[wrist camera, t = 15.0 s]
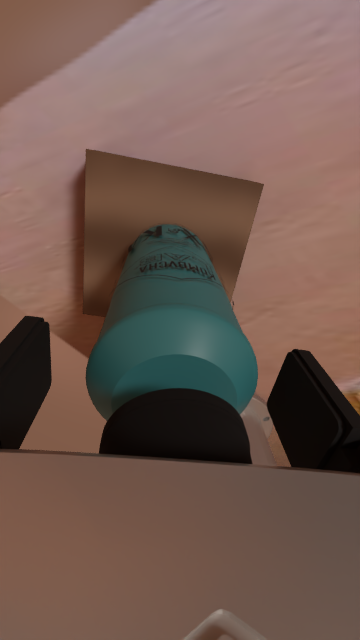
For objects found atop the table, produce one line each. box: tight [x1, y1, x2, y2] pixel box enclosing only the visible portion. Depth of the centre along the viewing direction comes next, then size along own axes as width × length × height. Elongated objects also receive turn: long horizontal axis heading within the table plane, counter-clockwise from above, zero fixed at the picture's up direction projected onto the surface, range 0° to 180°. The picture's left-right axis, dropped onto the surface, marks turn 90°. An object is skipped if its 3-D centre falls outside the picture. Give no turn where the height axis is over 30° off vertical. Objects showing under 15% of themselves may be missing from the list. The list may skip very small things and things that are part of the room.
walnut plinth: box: [83, 149, 264, 317], centre depth 25 cm, size 13×13×3 cm
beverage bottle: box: [86, 223, 258, 464], centre depth 15 cm, size 6×7×20 cm
